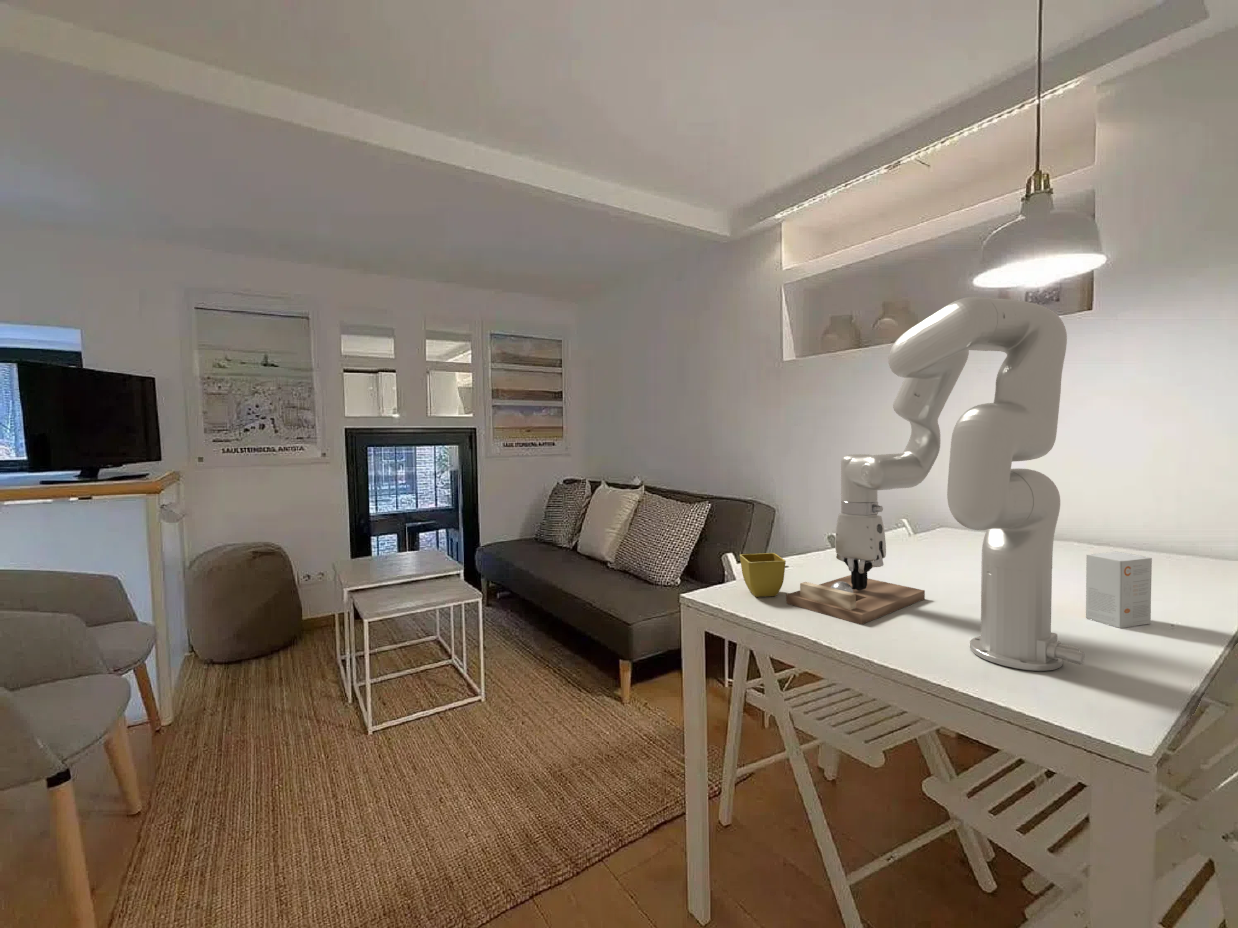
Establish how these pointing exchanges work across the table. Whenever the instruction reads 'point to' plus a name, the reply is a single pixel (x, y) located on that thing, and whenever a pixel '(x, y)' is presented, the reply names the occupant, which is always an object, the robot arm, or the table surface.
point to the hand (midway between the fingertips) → (859, 588)
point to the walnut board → (864, 600)
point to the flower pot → (763, 573)
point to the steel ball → (842, 586)
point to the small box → (1118, 589)
